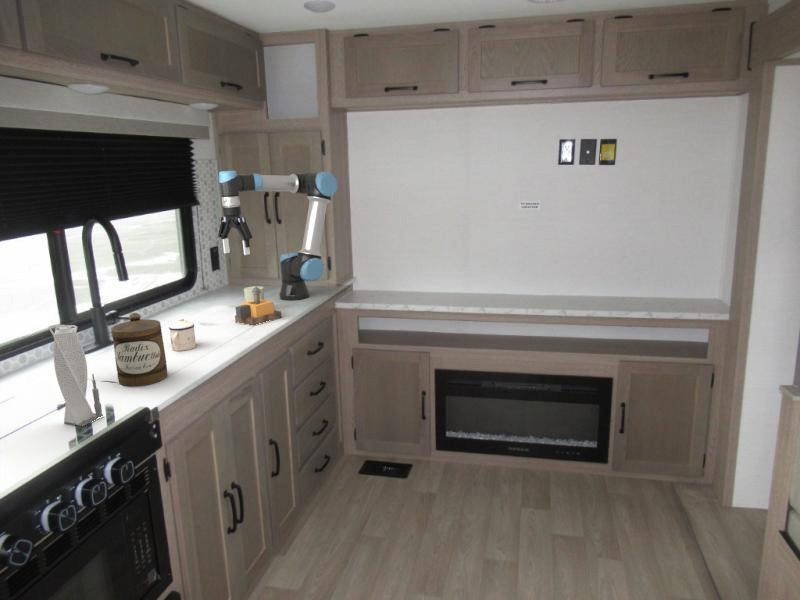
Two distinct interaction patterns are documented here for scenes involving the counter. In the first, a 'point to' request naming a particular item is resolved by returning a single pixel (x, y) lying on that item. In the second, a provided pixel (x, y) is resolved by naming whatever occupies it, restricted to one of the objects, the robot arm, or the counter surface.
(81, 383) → the skyscraper
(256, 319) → the keeper base
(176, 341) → the teacup with lid
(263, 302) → the orange gray open box
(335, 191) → the robot arm
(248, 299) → the pale green upright block
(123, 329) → the wooden container
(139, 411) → the counter surface
